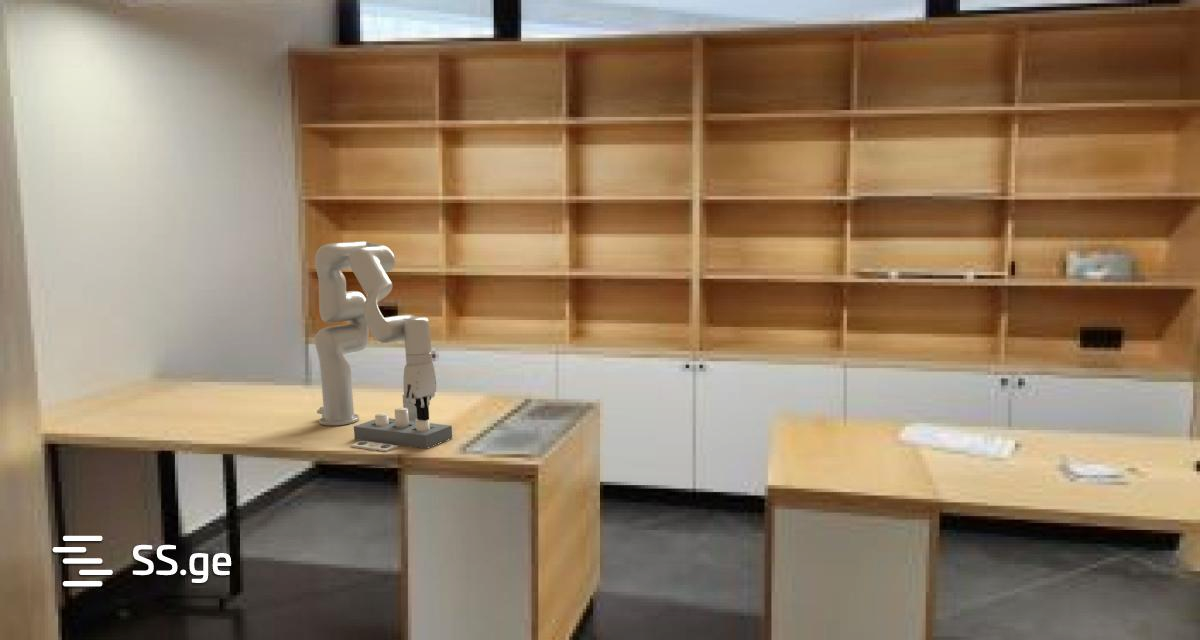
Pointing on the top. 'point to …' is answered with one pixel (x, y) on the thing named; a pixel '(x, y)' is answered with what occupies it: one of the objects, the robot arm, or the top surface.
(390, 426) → the grey slotted rack
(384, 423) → the button
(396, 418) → the button
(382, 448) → the pattern card
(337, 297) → the robot arm
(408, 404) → the small box
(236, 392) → the top surface
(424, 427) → the button
